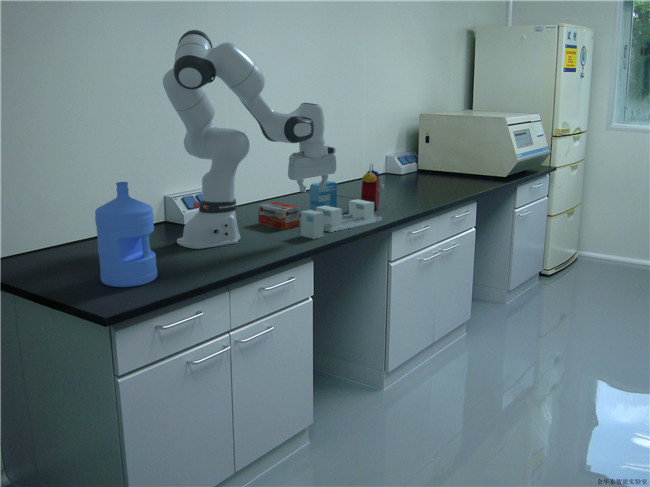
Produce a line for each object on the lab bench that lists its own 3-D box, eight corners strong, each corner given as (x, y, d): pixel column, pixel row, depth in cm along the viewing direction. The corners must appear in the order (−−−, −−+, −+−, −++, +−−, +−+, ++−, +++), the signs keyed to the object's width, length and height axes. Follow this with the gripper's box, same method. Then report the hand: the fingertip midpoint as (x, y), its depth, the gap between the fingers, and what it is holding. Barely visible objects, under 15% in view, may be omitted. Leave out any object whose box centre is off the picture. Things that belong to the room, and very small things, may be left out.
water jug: (89, 284, 185) (79, 185, 177) (124, 269, 199) (116, 177, 192) (135, 291, 179) (127, 189, 172) (168, 274, 193) (162, 180, 186)
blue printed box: (317, 213, 276) (317, 185, 273) (309, 211, 279) (309, 183, 276) (337, 209, 284) (337, 181, 281) (329, 207, 287) (329, 180, 284)
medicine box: (258, 224, 257) (257, 204, 255) (273, 220, 263) (273, 201, 261) (285, 230, 247) (284, 209, 245) (300, 226, 253) (300, 206, 251)
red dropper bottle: (365, 206, 290) (366, 160, 285) (385, 207, 288) (386, 161, 283) (360, 213, 276) (361, 165, 271) (381, 214, 274) (382, 166, 269)
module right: (365, 219, 258) (365, 204, 256) (348, 215, 264) (348, 200, 263) (374, 217, 261) (374, 202, 260) (357, 213, 268) (357, 199, 266)
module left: (332, 226, 246) (332, 210, 244) (315, 222, 252) (315, 207, 251) (341, 224, 249) (342, 208, 248) (325, 220, 256) (325, 205, 254)
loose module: (314, 239, 234) (314, 214, 231) (301, 235, 239) (300, 211, 236) (323, 237, 237) (323, 212, 234) (310, 233, 242) (310, 209, 239)
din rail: (331, 232, 243) (331, 226, 243) (307, 226, 252) (307, 221, 252) (381, 220, 262) (381, 215, 261) (358, 215, 271) (358, 210, 271)
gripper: (295, 154, 221) (296, 194, 224) (339, 148, 234) (339, 186, 238) (283, 152, 225) (284, 192, 229) (326, 146, 238) (327, 184, 242)
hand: (312, 189), depth 233 cm, fingers open, 8 cm apart
